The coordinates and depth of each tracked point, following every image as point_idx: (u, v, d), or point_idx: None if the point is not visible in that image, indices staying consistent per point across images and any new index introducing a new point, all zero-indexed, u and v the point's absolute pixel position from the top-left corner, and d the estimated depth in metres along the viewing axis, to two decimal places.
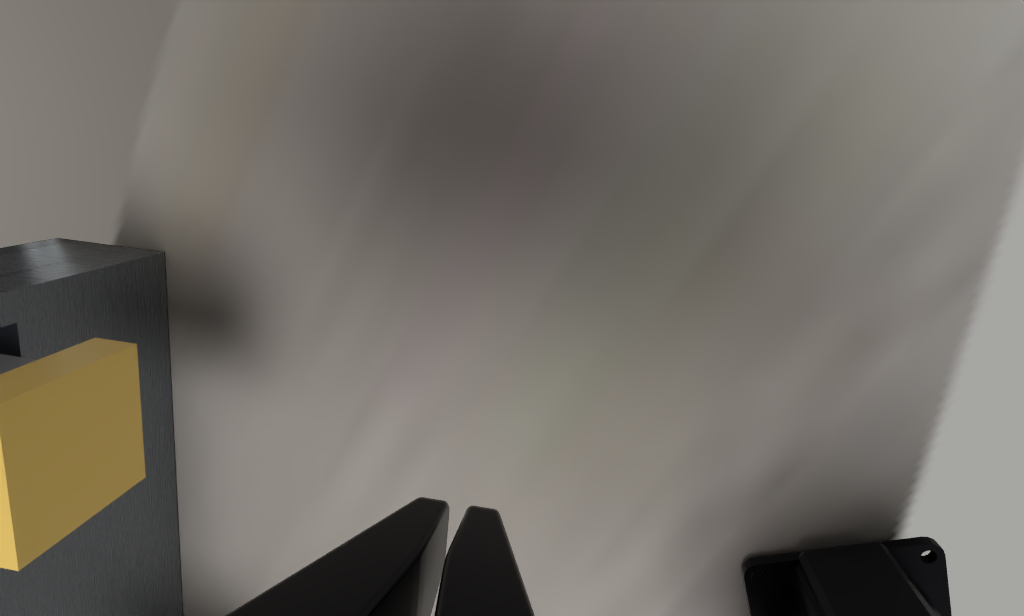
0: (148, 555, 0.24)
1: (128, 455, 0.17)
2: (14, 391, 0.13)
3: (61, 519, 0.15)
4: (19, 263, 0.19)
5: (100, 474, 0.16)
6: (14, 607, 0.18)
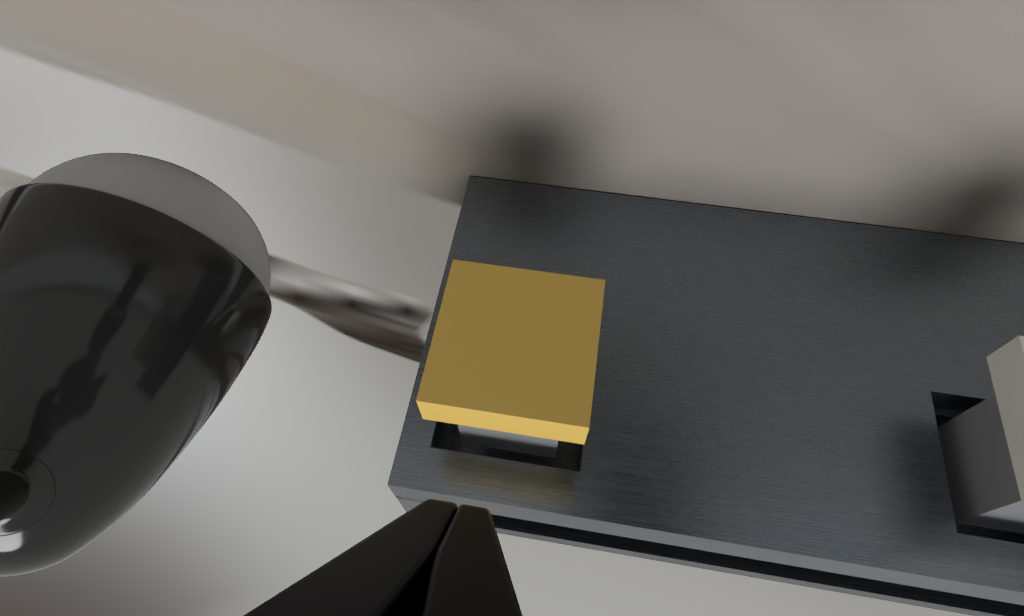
0: (801, 257, 0.20)
1: (564, 293, 0.16)
2: None
3: (574, 375, 0.14)
4: None
5: (559, 327, 0.15)
6: (732, 397, 0.18)
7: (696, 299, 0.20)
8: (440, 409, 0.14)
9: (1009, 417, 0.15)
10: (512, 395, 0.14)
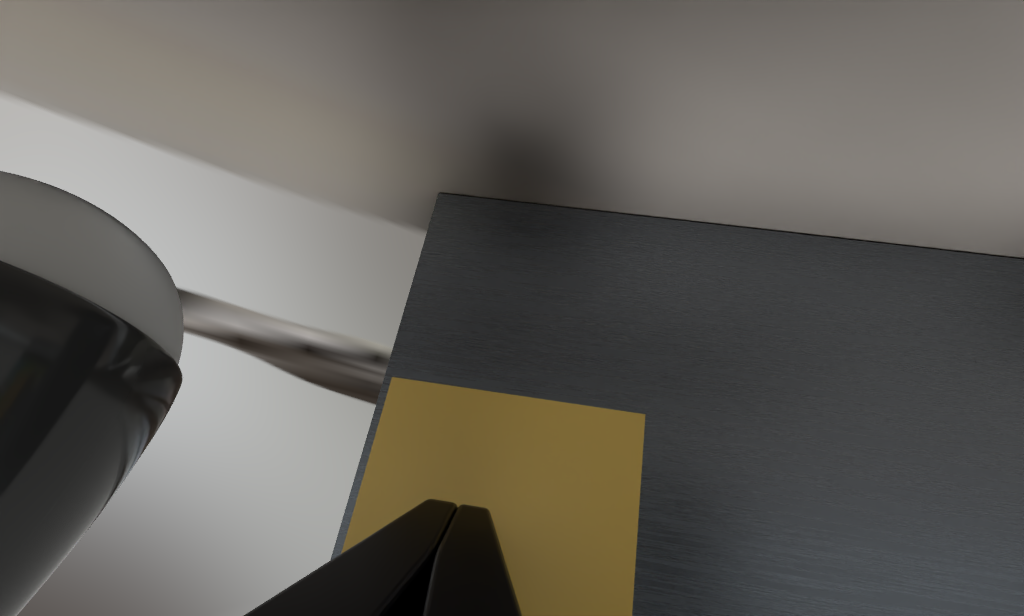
0: (947, 315, 0.13)
1: (575, 440, 0.09)
2: None
3: (594, 609, 0.08)
4: None
5: (568, 507, 0.09)
6: (862, 566, 0.11)
7: (788, 388, 0.12)
8: None
9: None
10: None
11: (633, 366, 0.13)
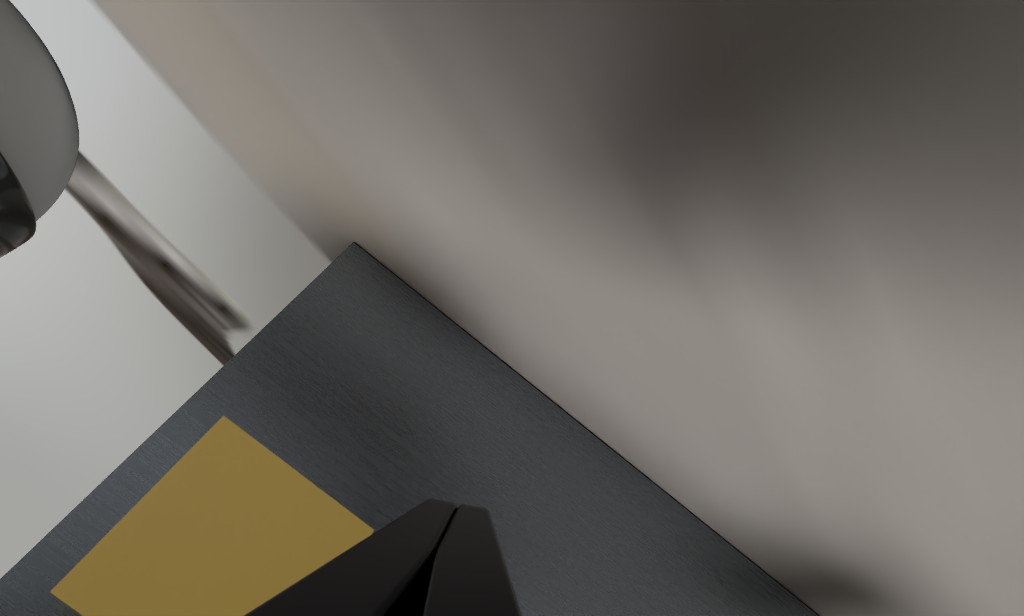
0: (642, 543, 0.17)
1: (319, 525, 0.13)
2: None
3: None
4: None
5: (287, 568, 0.12)
6: None
7: (510, 539, 0.16)
8: (78, 610, 0.11)
9: None
10: None
11: (414, 464, 0.15)
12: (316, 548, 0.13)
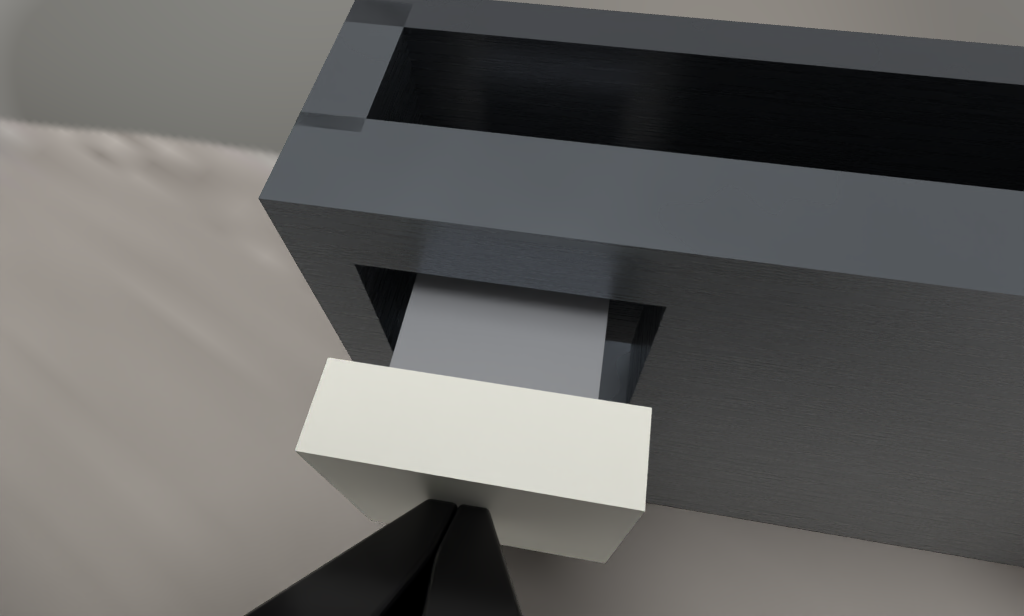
0: (742, 500, 0.15)
1: None
2: None
3: None
4: None
5: None
6: (992, 446, 0.10)
7: (948, 503, 0.12)
8: None
9: None
10: None
11: None
12: None
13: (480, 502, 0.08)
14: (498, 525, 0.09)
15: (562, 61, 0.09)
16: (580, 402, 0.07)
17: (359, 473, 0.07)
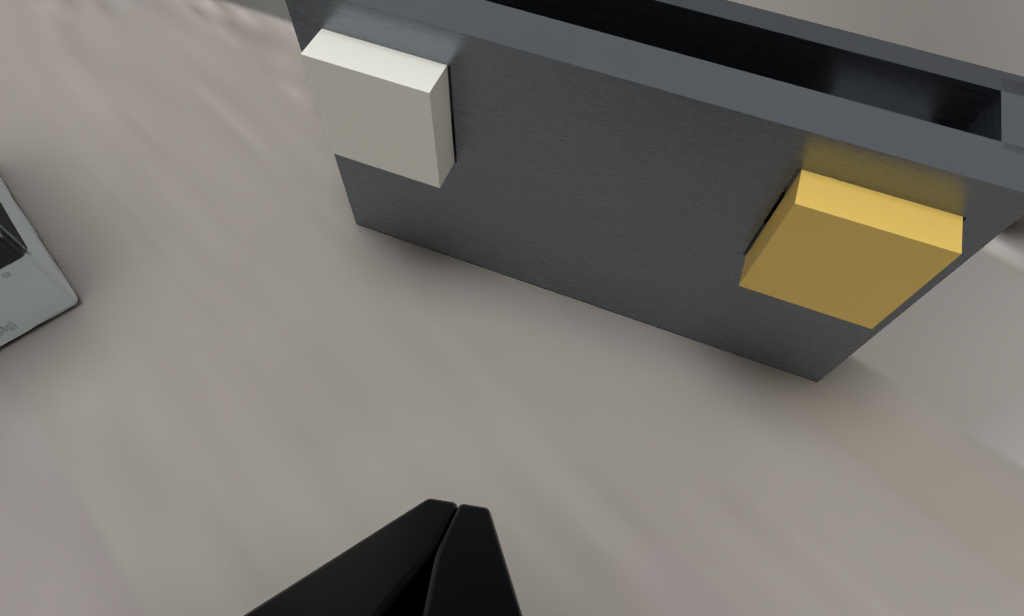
0: (541, 263, 0.24)
1: (778, 286, 0.18)
2: None
3: (793, 238, 0.16)
4: None
5: (792, 268, 0.17)
6: (624, 191, 0.19)
7: (636, 259, 0.22)
8: (938, 236, 0.15)
9: (448, 129, 0.19)
10: (859, 237, 0.16)
11: (723, 288, 0.21)
12: (776, 277, 0.18)
13: (373, 103, 0.18)
14: (385, 137, 0.19)
15: None
16: (418, 58, 0.18)
17: (325, 75, 0.18)
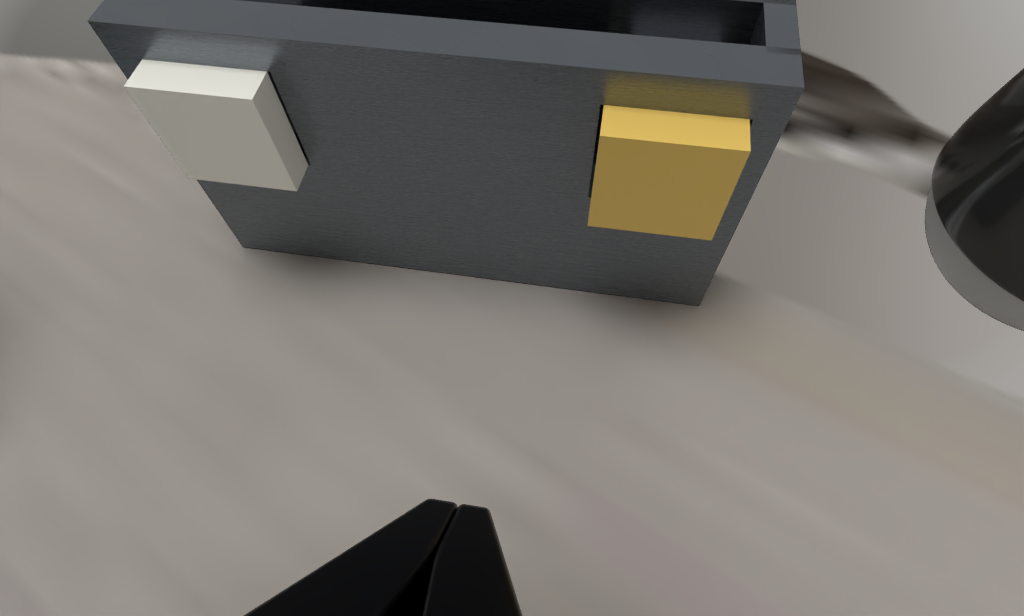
0: (422, 247, 0.25)
1: (620, 218, 0.20)
2: None
3: (612, 168, 0.18)
4: None
5: (624, 198, 0.19)
6: (465, 160, 0.20)
7: (501, 223, 0.23)
8: (729, 140, 0.17)
9: (289, 133, 0.20)
10: (664, 155, 0.17)
11: (584, 234, 0.23)
12: (614, 210, 0.19)
13: (207, 120, 0.19)
14: (230, 151, 0.20)
15: None
16: (239, 70, 0.18)
17: (153, 102, 0.19)
